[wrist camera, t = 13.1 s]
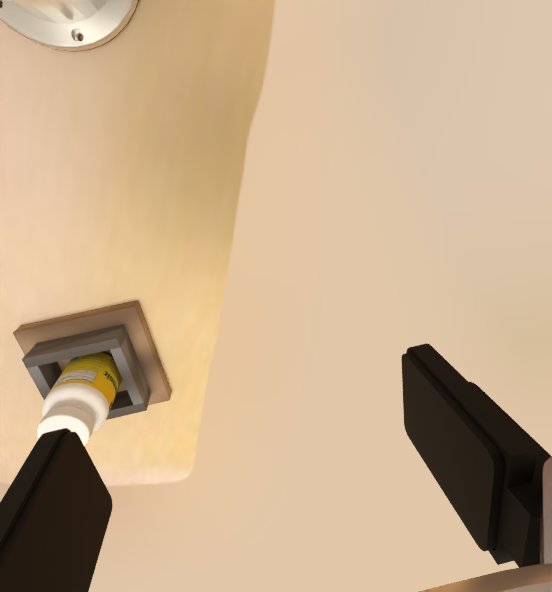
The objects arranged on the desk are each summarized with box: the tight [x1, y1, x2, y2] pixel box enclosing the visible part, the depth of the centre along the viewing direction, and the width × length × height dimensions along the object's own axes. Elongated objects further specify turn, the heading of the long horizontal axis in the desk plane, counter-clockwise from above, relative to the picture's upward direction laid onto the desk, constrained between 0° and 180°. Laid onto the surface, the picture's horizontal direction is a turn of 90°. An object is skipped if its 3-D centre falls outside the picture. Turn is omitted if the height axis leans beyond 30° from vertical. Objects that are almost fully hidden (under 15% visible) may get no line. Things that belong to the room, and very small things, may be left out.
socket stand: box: [13, 301, 171, 420], centre depth 38 cm, size 12×12×4 cm
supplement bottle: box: [37, 350, 122, 446], centre depth 34 cm, size 5×5×10 cm
